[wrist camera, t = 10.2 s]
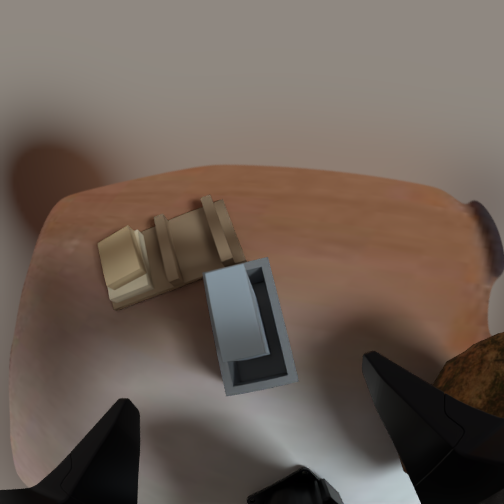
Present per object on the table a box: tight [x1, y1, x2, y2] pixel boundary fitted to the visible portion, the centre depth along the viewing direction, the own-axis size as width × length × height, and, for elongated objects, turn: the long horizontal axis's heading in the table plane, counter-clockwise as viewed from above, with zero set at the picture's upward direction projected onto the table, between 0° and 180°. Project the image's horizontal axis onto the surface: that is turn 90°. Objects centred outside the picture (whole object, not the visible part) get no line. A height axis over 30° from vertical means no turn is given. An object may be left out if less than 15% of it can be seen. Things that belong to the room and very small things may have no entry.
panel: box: [205, 264, 271, 362], centre depth 17 cm, size 4×2×10 cm, turn 13°
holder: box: [202, 257, 299, 396], centre depth 20 cm, size 9×5×5 cm, turn 12°
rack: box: [98, 195, 247, 311], centre depth 24 cm, size 7×14×3 cm, turn 110°
